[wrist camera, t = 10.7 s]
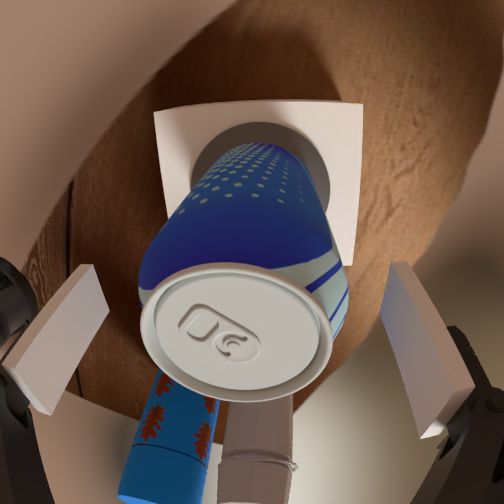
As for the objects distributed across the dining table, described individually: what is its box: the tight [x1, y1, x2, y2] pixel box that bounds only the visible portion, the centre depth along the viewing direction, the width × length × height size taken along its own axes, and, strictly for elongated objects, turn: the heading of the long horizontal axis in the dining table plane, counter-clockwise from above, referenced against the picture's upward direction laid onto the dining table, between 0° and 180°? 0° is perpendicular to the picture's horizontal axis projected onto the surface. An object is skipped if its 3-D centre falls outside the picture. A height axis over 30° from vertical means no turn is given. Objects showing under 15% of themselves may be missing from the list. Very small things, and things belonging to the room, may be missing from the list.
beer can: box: [139, 143, 349, 402], centre depth 17 cm, size 8×8×16 cm
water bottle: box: [217, 393, 298, 504], centre depth 32 cm, size 9×8×25 cm
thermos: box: [117, 369, 220, 504], centre depth 38 cm, size 11×11×25 cm
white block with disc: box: [154, 99, 363, 266], centre depth 28 cm, size 16×14×8 cm
